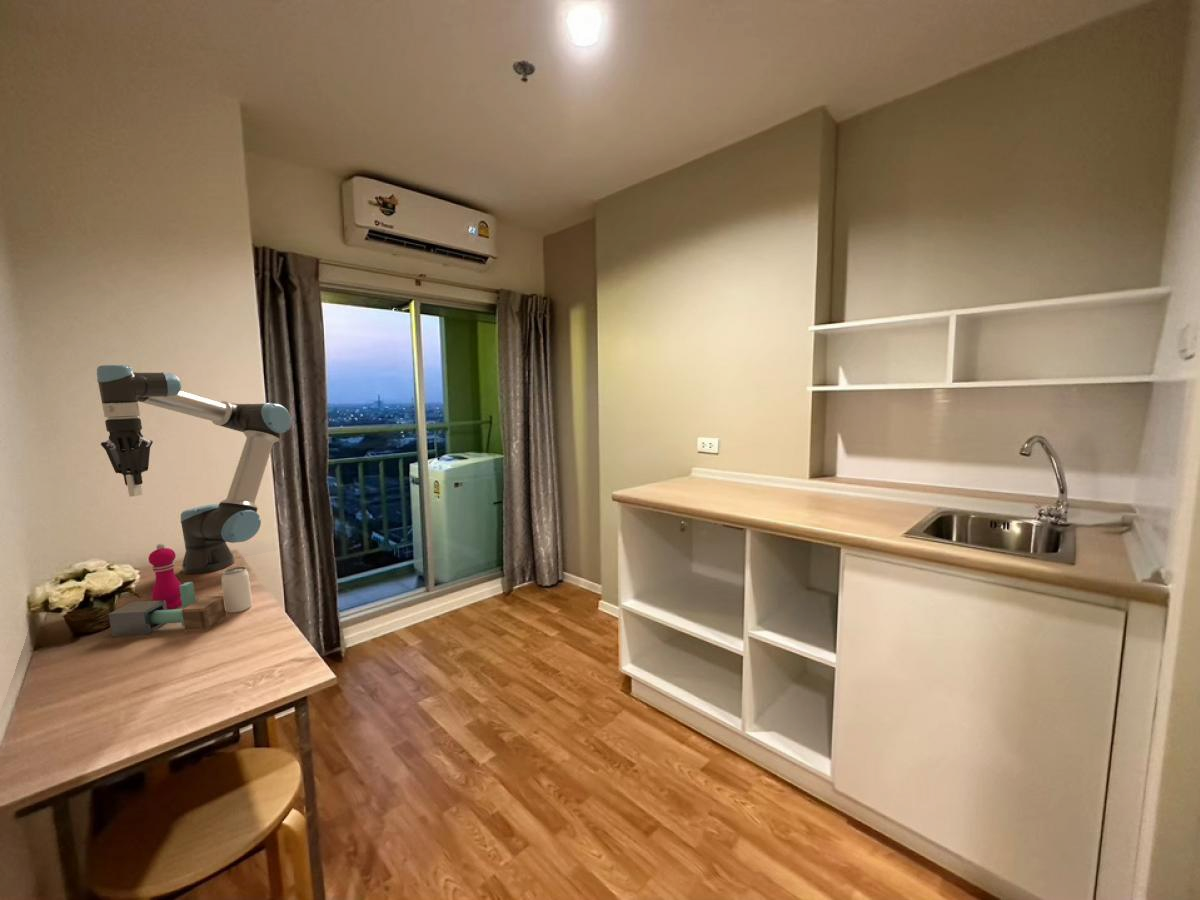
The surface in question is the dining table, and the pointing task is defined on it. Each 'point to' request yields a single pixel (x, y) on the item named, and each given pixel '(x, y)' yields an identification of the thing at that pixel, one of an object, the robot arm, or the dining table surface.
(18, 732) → the dining table surface
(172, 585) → the pepper mill
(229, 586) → the can
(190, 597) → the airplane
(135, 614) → the gray block
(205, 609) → the socket
